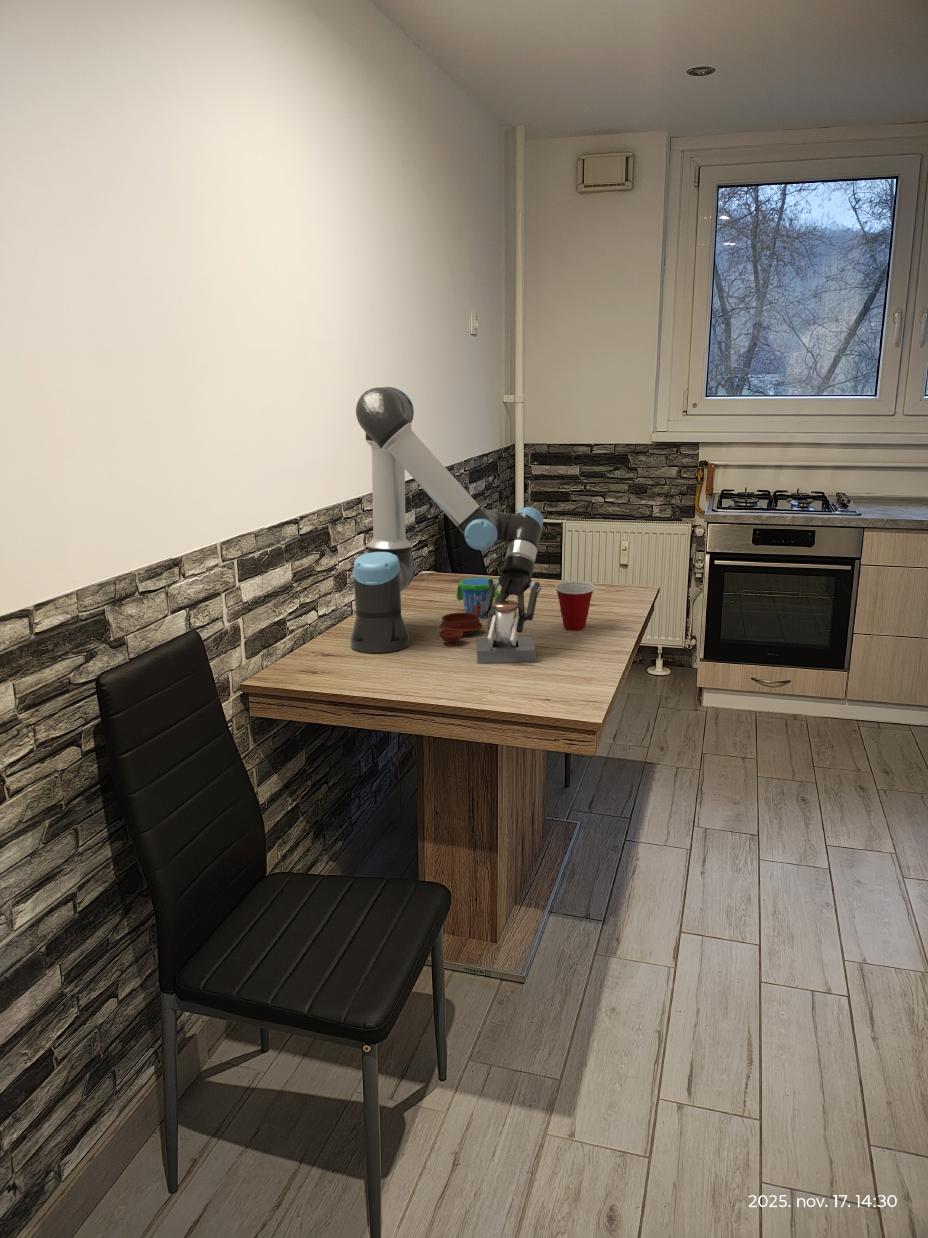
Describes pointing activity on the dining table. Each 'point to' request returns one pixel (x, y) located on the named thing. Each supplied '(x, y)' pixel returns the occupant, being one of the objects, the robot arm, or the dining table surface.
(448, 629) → the pottery
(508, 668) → the dining table surface
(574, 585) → the plastic cup
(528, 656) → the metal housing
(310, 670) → the dining table surface
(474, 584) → the snack cup
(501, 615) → the silver copper-capped cylinder
